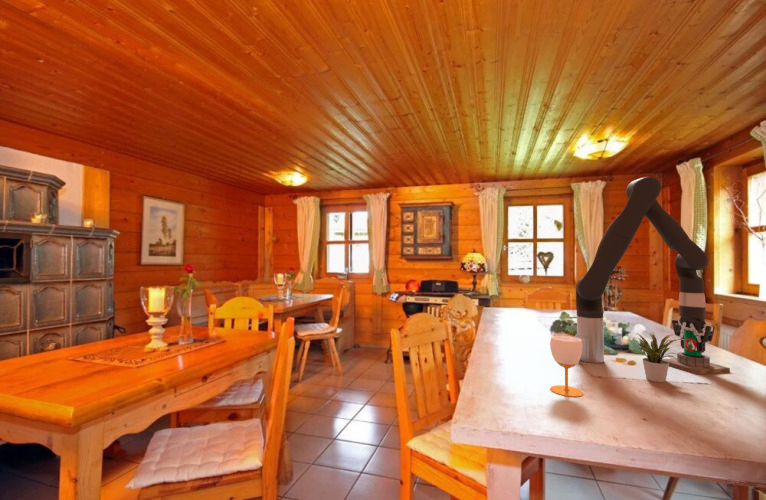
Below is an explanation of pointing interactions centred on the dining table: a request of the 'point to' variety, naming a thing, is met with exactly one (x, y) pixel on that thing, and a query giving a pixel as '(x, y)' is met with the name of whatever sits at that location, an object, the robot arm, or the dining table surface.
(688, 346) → the soda can
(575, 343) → the cup
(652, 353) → the house plant
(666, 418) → the dining table surface
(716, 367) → the can holder
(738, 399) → the dining table surface
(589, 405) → the dining table surface
